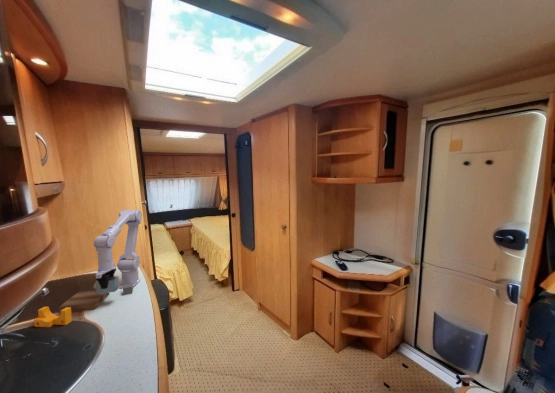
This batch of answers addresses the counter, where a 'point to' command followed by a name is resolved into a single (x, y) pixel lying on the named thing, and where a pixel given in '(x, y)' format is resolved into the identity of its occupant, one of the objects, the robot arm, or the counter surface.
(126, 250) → the robot arm
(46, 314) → the pipe clamp
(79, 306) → the walnut stand
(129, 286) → the grey rubber block
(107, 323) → the counter surface
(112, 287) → the block
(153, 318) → the counter surface
